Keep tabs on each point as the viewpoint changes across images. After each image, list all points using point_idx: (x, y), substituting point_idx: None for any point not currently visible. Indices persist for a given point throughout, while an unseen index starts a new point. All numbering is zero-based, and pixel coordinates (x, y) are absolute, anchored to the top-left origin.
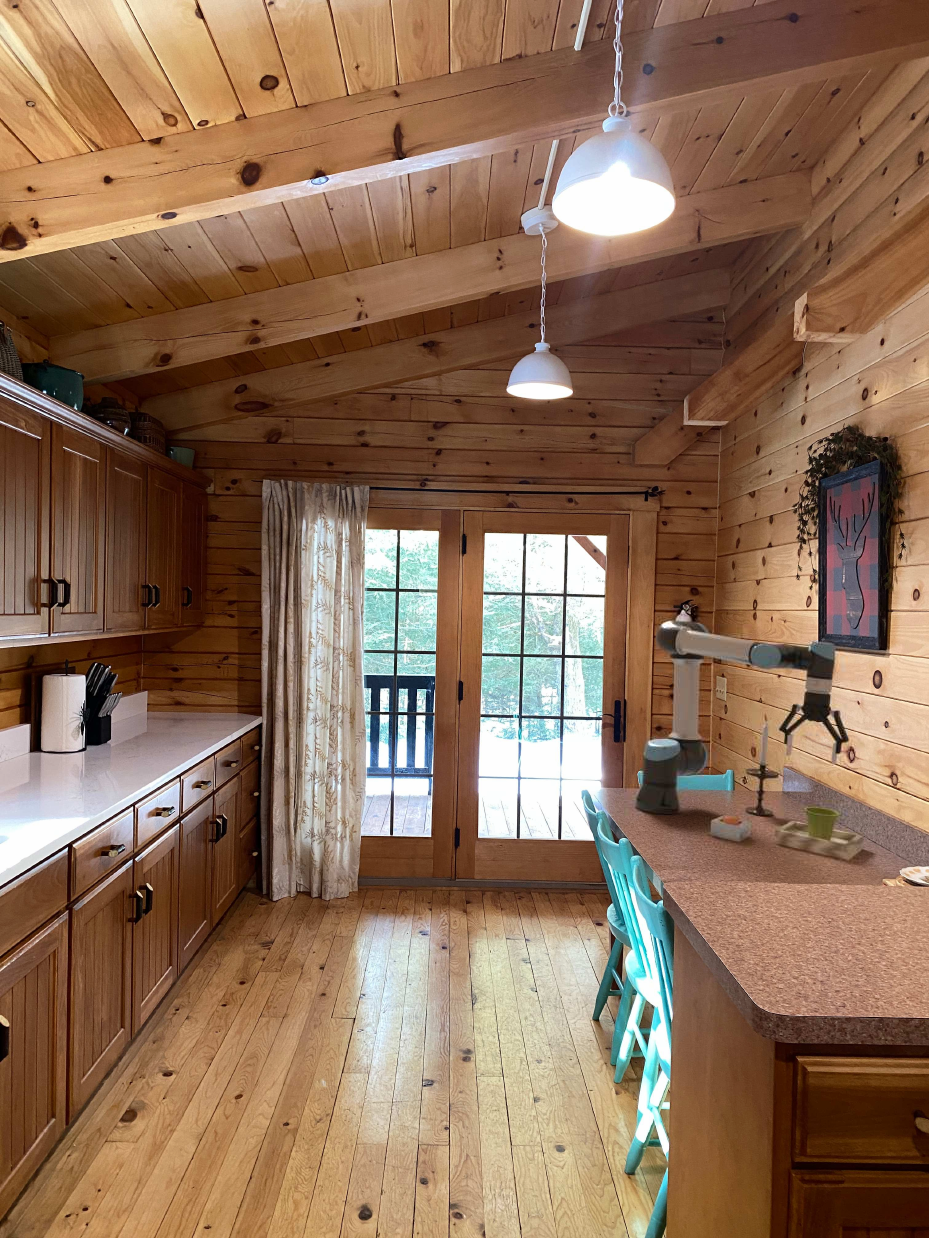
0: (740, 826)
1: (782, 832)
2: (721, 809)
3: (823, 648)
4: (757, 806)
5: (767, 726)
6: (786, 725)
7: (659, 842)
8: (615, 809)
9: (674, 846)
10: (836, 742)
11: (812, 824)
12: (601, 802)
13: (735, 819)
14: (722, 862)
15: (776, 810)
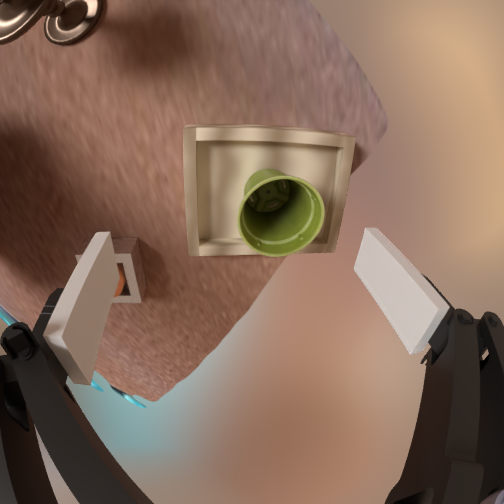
0: (139, 299)
1: (203, 254)
2: (13, 77)
3: None
4: (62, 19)
5: None
6: (29, 434)
7: (98, 356)
8: None
9: (117, 358)
10: (428, 353)
11: (260, 230)
12: None
13: (118, 290)
14: (187, 370)
15: None
